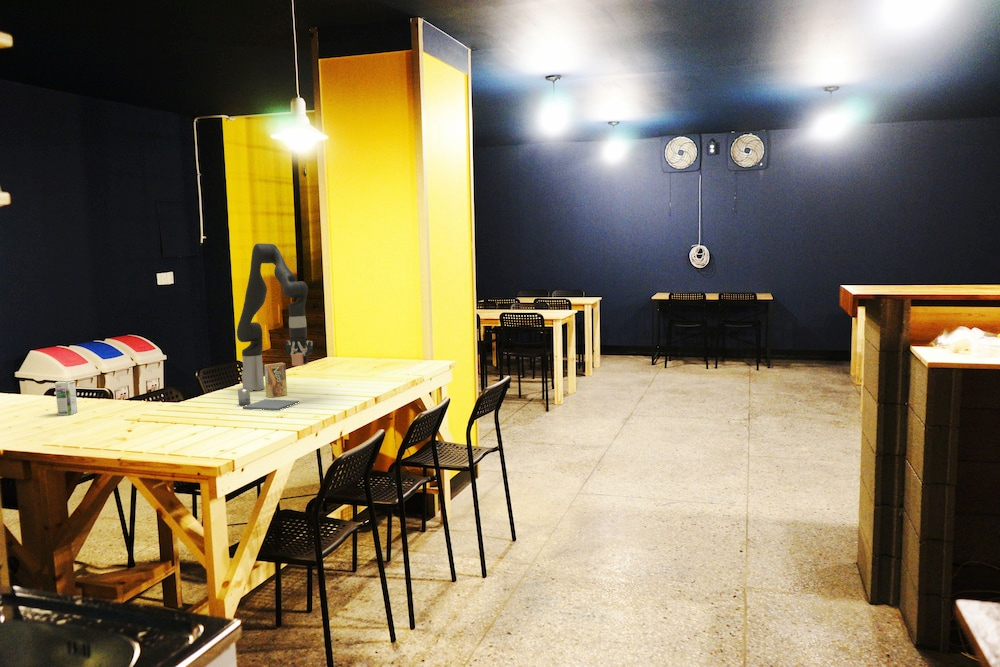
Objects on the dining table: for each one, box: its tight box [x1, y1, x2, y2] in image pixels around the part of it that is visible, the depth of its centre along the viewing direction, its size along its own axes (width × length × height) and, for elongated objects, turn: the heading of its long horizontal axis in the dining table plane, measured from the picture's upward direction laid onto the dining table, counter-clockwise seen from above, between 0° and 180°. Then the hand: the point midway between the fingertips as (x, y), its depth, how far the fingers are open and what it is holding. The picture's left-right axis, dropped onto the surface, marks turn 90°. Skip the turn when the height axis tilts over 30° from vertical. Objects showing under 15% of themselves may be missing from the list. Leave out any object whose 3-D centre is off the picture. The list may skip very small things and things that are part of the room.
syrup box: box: [54, 380, 78, 416], centre depth 326 cm, size 6×6×14 cm
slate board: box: [242, 398, 300, 411], centre depth 331 cm, size 18×16×1 cm
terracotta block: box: [291, 352, 309, 367], centre depth 337 cm, size 5×5×5 cm
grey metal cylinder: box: [237, 387, 252, 407], centre depth 334 cm, size 5×5×7 cm
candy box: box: [263, 362, 288, 398], centre depth 352 cm, size 9×4×15 cm, turn 129°
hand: (300, 363), depth 337 cm, fingers closed on terracotta block, 5 cm apart
